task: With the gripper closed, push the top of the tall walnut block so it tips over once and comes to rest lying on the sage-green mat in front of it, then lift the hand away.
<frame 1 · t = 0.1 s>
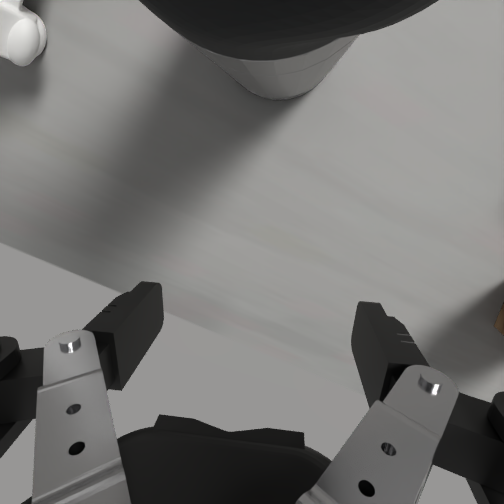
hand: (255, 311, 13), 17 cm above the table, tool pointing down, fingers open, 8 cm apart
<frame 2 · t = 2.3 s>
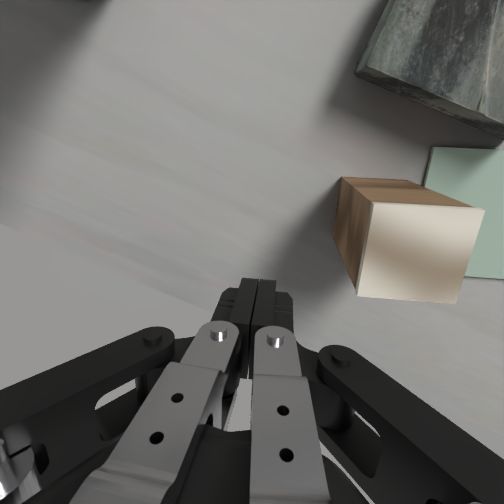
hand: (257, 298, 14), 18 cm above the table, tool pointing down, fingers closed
walnut block: (368, 209, 30), on the table
stone block: (457, 53, 25), on the table
sage mat: (494, 217, 29), on the table
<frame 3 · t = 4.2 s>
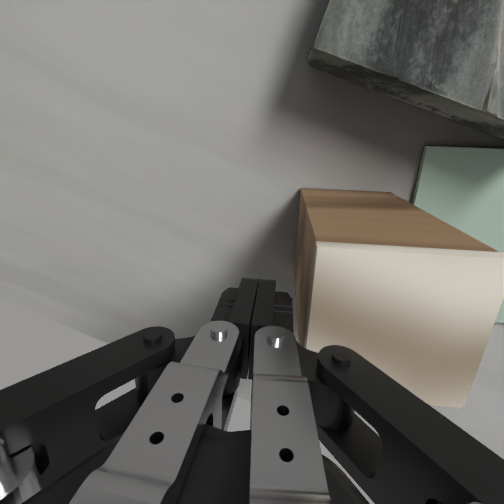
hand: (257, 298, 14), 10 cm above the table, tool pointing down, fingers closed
walnut block: (339, 232, 22), on the table, touching gripper
stone block: (453, 28, 18), on the table
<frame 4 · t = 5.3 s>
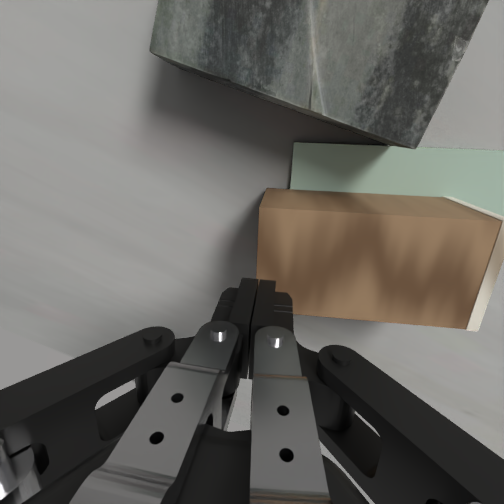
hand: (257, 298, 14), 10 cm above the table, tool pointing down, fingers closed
walnut block: (261, 243, 19), point 3 cm above the table, tilted 90°, touching sage mat
stone block: (309, 31, 18), on the table
sage mat: (386, 236, 22), on the table
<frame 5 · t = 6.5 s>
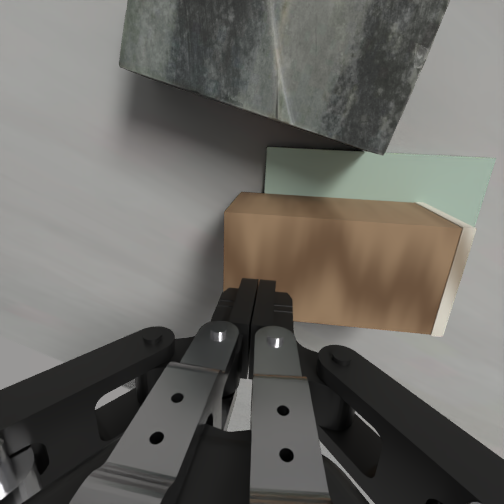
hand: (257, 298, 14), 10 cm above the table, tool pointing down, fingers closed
walnut block: (232, 247, 19), point 3 cm above the table, tilted 90°, touching sage mat
stone block: (281, 40, 19), on the table
sage mat: (360, 240, 22), on the table
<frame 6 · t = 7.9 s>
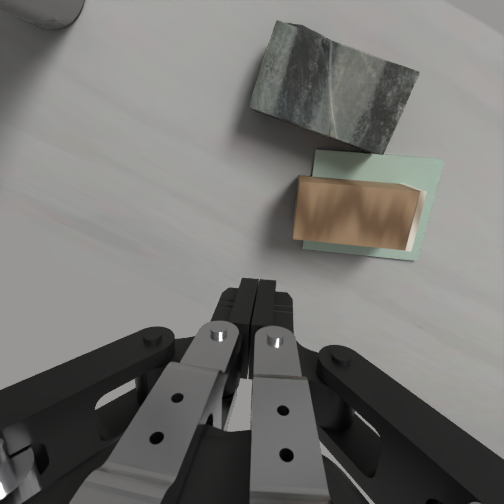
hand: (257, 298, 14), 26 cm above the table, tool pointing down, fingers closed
walnut block: (295, 205, 34), point 3 cm above the table, tilted 90°, touching sage mat
stone block: (327, 91, 34), on the table
sage mat: (367, 206, 37), on the table
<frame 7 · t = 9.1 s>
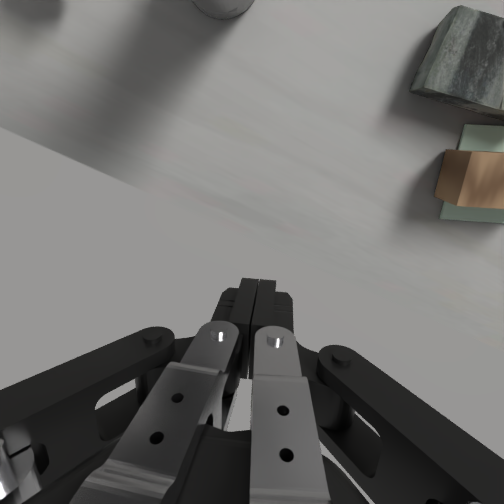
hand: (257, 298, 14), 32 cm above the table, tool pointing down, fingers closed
walnut block: (451, 176, 37), point 3 cm above the table, tilted 90°, touching sage mat
stone block: (481, 70, 37), on the table
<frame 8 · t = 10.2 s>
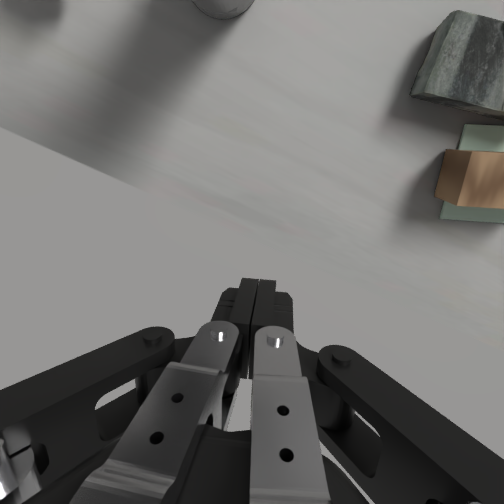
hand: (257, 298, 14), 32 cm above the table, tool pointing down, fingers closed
walnut block: (451, 176, 37), point 3 cm above the table, tilted 90°, touching sage mat
stone block: (480, 71, 37), on the table
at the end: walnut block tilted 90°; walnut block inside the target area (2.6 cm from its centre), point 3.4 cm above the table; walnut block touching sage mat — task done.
